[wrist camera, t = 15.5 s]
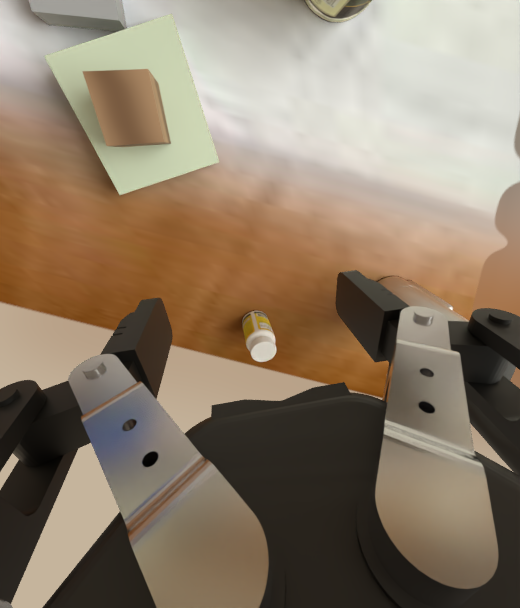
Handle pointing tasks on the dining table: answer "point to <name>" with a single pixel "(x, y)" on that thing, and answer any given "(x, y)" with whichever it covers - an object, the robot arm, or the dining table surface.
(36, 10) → the slate block
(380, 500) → the robot arm
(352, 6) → the coffee can
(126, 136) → the walnut cube
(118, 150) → the sage block
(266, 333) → the supplement bottle
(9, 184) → the dining table surface
